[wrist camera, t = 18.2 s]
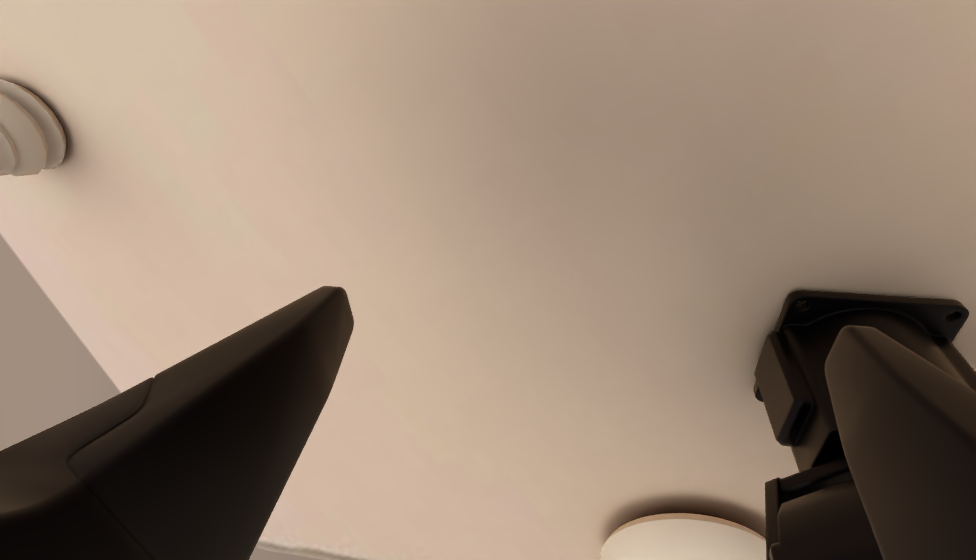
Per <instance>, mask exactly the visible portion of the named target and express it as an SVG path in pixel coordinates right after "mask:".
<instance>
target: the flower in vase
mask: <svg viewBox="0 0 976 560" xmlns="http://www.w3.org/2000/svg"><path fill="white" fill-rule="evenodd" d="M600 560H766V539H765V538H764V537H762V536H761V535H759V534H758V533H756V532H755V531H753V530H751V529H749V528H747V527H745V526H742V525H740V524H737V523H735V522H732V521H728V520H725V519H721V518H717V517H712V516H706V515H700V514H689V513H668V514H657V515H650V516H646V517H642V518H638V519H635V520H632V521H630V522H628V523H626V524H624V525H622V526H620V527H619V528H617V529H616V530H615V531H614V532H613V533H612V534H611V535H610V537H609V538H608V539H607V541H606V542H605V543H604V545H603V547H602V549H601V553H600Z"/></svg>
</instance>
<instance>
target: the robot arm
mask: <svg viewBox="0 0 976 560" xmlns="http://www.w3.org/2000/svg"><path fill="white" fill-rule="evenodd" d="M799 301H805V302H804V303H802V304H798V305H797V304H796V303H797V302H799ZM950 312H953V313H952V314H949V315H947V314H948V313H950ZM968 315H969V312H968V310H967V309H966V307H965V306H964V305H963V304H962V303H960V302H959V301H954V300H940V299H925V298H910V297H895V296H880V295H865V294H850V293H834V292H819V291H804V290H801V291H795V292H793V293H791V294H790V295H788V297H787V298H786V301H785V304H784V306H783V309H782V312H781V315H780V317H779V320H778V323H777V326H776V328H775V331H773V332H771V333H770V334H769V335H768V336H767V339H766V342H765V345H764V347H763V350H762V353H761V356H760V359H759V361H758V364H757V367H756V370H755V377H756V383H755V386H754V393H755V397H756V398H757V399H758V400H759V401H762V402H764V404H765V407H766V410H767V413H768V416H769V420H770V423H771V426H772V429H773V432H774V435H775V438H776V440H777V441H778V442H779V443H780V444H781V445H784V446H791V449H792V452H793V455H794V458H795V460H796V463H797V466H798V469H799V473H796V474H794V475H791V476H788V477H786V478H783V479H780V478H776V479H773V480H771V481H768V482H766V483H765V506H766V560H976V372H975V371H974V370H973V368H972V367H971V366H970V365H969V364H968V362H967V361H966V360H965V359H964V358H963V356H962V355H961V354H960V353H959V352H958V350H957V349H956V348H955V347H954V346H953V344H952V341H953V340H954V338H955V337H956V335H957V333H958V332H959V330H960V329H961V327H962V326H963V324H964V323H965V321H966V319H967V318H968ZM353 326H354V320H353V315H352V312H351V308H350V304H349V301H348V297H347V294H346V291H345V290H344V289H343V288H341V287H332V286H323V287H321V288H319V289H317V290H315V291H313V292H311V293H309V294H307V295H305V296H304V297H302V298H300V299H298V300H296V301H294V302H292V303H290V304H289V305H287V306H285V307H283V308H281V309H279V310H277V311H275V312H273V313H272V314H270V315H268V316H266V317H264V318H262V319H260V320H258V321H257V322H255V323H253V324H251V325H249V326H247V327H245V328H243V329H241V330H240V331H238V332H236V333H234V334H232V335H230V336H228V337H226V338H225V339H223V340H221V341H219V342H217V343H215V344H213V345H211V346H209V347H208V348H206V349H204V350H202V351H200V352H198V353H196V354H194V355H193V356H191V357H189V358H187V359H185V360H183V361H181V362H179V363H177V364H176V365H174V366H172V367H170V368H168V369H166V370H164V371H162V372H161V373H159V374H157V375H156V376H155V378H149V379H147V380H145V381H143V382H142V383H140V384H138V385H136V386H134V387H132V388H130V389H128V390H126V391H125V392H123V393H121V394H119V395H117V396H115V397H113V398H111V399H109V400H107V401H105V402H103V403H101V404H99V405H97V406H95V407H93V408H91V409H89V410H87V411H85V412H83V413H81V414H79V415H76V416H74V417H72V418H70V419H68V420H66V421H64V422H62V423H60V424H57V425H55V426H53V427H51V428H49V429H47V430H45V431H42V432H41V433H38V434H36V435H34V436H32V437H30V438H28V439H26V440H23V441H21V442H19V443H17V444H15V445H12V446H10V447H8V448H6V449H4V450H2V451H0V560H249V558H250V556H251V554H252V552H253V550H254V548H255V546H256V544H257V542H258V540H259V538H260V536H261V534H262V532H263V530H264V527H265V525H266V523H267V521H268V519H269V517H270V515H271V513H272V511H273V509H274V507H275V505H276V503H277V501H278V499H279V497H280V495H281V493H282V491H283V489H284V487H285V485H286V483H287V481H288V478H289V476H290V474H291V472H292V470H293V468H294V466H295V464H296V462H297V460H298V458H299V456H300V454H301V452H302V450H303V448H304V446H305V444H306V442H307V440H308V438H309V436H310V434H311V432H312V430H313V427H314V425H315V423H316V421H317V419H318V417H319V415H320V413H321V411H322V409H323V407H324V405H325V403H326V401H327V399H328V396H329V394H330V392H331V389H332V387H333V384H334V381H335V379H336V376H337V373H338V370H339V367H340V365H341V362H342V359H343V356H344V353H345V351H346V348H347V345H348V342H349V339H350V337H351V334H352V331H353Z"/></svg>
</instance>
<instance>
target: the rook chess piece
mask: <svg viewBox="0 0 976 560" xmlns="http://www.w3.org/2000/svg"><path fill="white" fill-rule="evenodd" d="M66 142H67V141H66V137H65V134H64V131H63V127H62V126H61V124H60V122H59V121H58V119H57V118H56V116H55V114H54V113H53V111H52V110H51V109H50V108H49V107H48V106H47V105H46V104H45V103H44V102H43V101H42V100H41V99H40V98H39V97H38V96H36V95H35V94H33V93H32V92H30V91H29V90H27V89H26V88H24V87H22V86H19V85H17V84H14V83H11V82H8V81H5V80H2V79H0V175H8V174H11V175H14V176H23V175H33V174H38V173H39V172H40V171H41V170H42V169H53V168H56V167H57V166H58V165H59V164H60V163H61V162H62V161H63V158H64V155H65V150H66Z"/></svg>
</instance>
